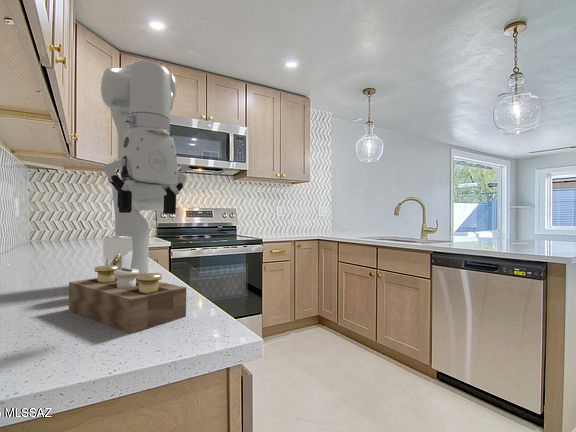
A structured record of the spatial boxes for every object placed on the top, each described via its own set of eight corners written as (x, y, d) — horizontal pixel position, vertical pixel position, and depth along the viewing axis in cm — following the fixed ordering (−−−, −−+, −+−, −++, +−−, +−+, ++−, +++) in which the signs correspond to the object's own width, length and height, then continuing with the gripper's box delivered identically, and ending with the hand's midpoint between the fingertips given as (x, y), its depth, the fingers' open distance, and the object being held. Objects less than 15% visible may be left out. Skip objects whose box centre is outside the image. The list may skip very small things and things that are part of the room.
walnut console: (68, 309, 70) (69, 282, 70) (122, 298, 80) (122, 274, 80) (130, 333, 57) (131, 299, 57) (186, 316, 67) (186, 287, 67)
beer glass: (100, 297, 81) (101, 237, 81) (103, 291, 87) (104, 235, 87) (131, 295, 84) (132, 237, 83) (132, 289, 90) (133, 235, 90)
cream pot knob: (108, 299, 68) (109, 269, 68) (130, 294, 72) (131, 266, 72) (121, 303, 65) (121, 271, 65) (143, 298, 69) (143, 268, 69)
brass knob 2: (130, 305, 64) (130, 275, 64) (152, 300, 68) (152, 272, 68) (144, 310, 61) (144, 278, 61) (166, 304, 65) (166, 274, 65)
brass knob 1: (90, 293, 72) (90, 267, 72) (111, 289, 76) (111, 264, 76) (100, 297, 70) (101, 269, 70) (122, 292, 74) (123, 266, 74)
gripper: (116, 112, 55) (115, 212, 55) (196, 134, 70) (195, 214, 69) (94, 119, 59) (93, 212, 59) (174, 139, 74) (173, 214, 73)
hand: (148, 213), depth 64 cm, fingers open, 9 cm apart
